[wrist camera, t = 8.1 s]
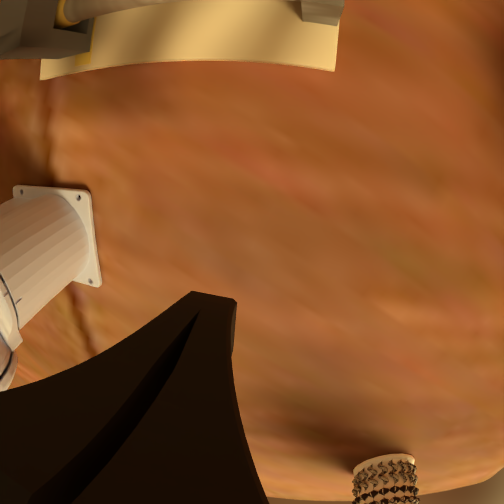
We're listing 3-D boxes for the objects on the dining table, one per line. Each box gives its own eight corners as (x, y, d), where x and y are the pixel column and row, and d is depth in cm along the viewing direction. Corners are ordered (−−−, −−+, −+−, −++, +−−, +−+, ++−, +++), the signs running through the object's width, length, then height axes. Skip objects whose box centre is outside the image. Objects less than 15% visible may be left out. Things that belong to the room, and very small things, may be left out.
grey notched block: (58, 59, 14) (-10, 60, 9) (69, -10, 12) (7, -24, 6) (89, 51, 14) (19, 46, 9) (101, -21, 12) (40, -43, 6)
